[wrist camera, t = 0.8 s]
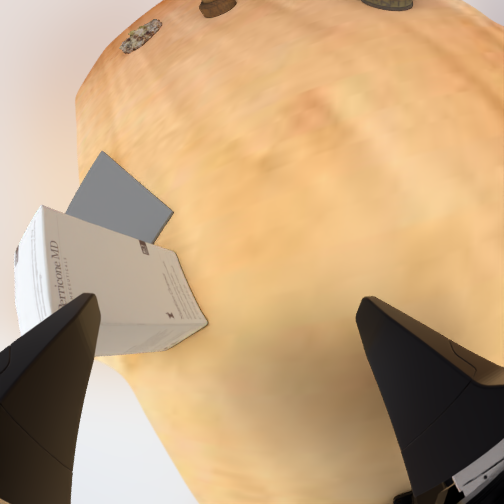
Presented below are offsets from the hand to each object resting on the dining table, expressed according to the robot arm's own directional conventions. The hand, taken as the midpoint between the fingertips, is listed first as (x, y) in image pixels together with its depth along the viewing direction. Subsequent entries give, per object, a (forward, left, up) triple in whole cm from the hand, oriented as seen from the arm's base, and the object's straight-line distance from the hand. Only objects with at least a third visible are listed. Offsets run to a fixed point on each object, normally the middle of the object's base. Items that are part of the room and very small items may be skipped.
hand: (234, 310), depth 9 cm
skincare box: (+5, +12, -14) cm, 19 cm away
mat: (+18, +21, -13) cm, 30 cm away
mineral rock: (+61, +11, -14) cm, 63 cm away
